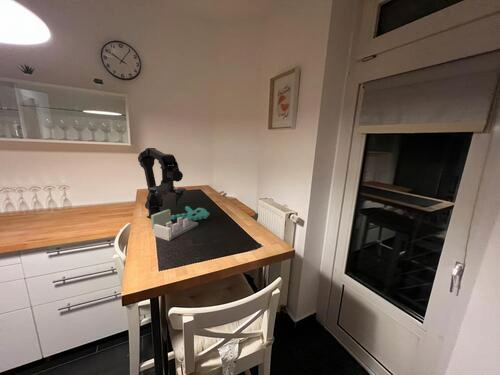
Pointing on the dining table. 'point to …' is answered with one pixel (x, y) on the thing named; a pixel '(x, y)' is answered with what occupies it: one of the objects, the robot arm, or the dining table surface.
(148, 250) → the dining table surface
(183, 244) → the dining table surface
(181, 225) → the hinge base
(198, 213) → the alien figure
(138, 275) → the dining table surface
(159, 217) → the cabinet door
